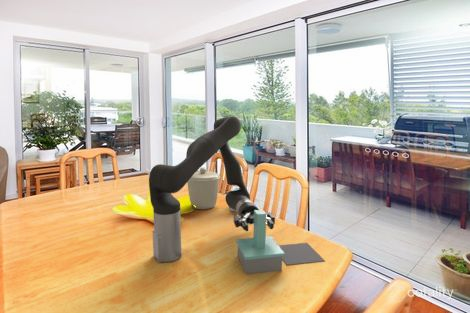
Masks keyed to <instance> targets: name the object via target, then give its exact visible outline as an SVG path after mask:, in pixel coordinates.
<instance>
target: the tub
mask: <svg viewBox="0 0 470 313" xmlns="http://www.w3.org/2000/svg"><path fill="white" fill-rule="evenodd" d="M237 257H238V259H239V261H240V264H241V266H242V268H243V271H244V273H245V275H253V274H262V273H263V274H264V273H271V272H280V271H281V272H282V271H283V260H282V256H280V257H271V258H261V259H251V260H245V259H244V257H243V255H242V253H241V251H240V249H239V247H238V246H237Z"/></svg>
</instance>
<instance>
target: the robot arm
mask: <svg viewBox="0 0 470 313" xmlns="http://www.w3.org/2000/svg"><path fill="white" fill-rule="evenodd" d="M241 128H242V124H241V120H240V119H239V118H238V117H237V116H235V115H227V116H225V117H224V116H223V117H221V118H219V119H216V120H215V121H214V122H213V129H212V130H211V131H208V132H206V133H204V134H203V135H202V134H201V135H200V136H199V137H198V138H196V139H195V140H194V141H192V142H191V143H190V144H189V145H188V146H187V149H186V154H185V155H186V156H185V158H184V159H183V160H182V161H181V162H180V163H178V164H175V165H169V164H161V163H160V164H155V165H154V166H153V167H152V168H151V169H150V172H149V176H148V177H149V178H148V187H149V189H148V190H149V198H150V199H149V200H150V204H151V206H152V208H153V230H152V232H151V233H152V251H153V253H152V254H153V258H155V259H156V261H157V262H158V263H169V262H175V261H177V260H179V259H180V258H181V257H182V226H181V222H182V220H181V203H180V200H179V199H178V198H176V197H174V195H173V194H176V193H179V192H180V191H181V190H182V189H183V188H184V186H185V185H187V184H188V183H187V182H188V181H189V179H190V178H191V177H192V176H193V175H194V173H195V172H197V171H199V170H200V168H202V166H203V165H204V164H206V163H207V162H208V161H209V160H210V159H211V158H212V157H213V156H214V155H215V154H216V153H217V152H220V154H221V158H222V162H223V165H224V170H225V171H224V172H225V176H226V177H225V179H226V182H227V185H229V186H238V187H239V188H240V190H234V191H230V190H229V191H228V192H227V193H226V194H225V202H226V205H227V206H228V207H229V209H230V208H232V209H234V210H236V211H235V212H236V213H237V214H233V224H234V226H235V228H239V227H241V228H242V230H243V231H245V232H249V225H254V210H260V209H259V208H258V207H257V206H256V204H255V203H254V201H252V200H251V196H250V193H249V191H248V188H247V187H246V185H245V181H244V178H243V170H242V166H241V164H240V163H241V162H240V161H239V159H238V158H237V157H236V155H235V153H234V152H233V151H232V149H231V147H230V144H229V141H230V140H232V139H233V138H234V137H236V136H238V135H239V134H240V132H241ZM275 224H276V217H275V216H274V215H273V214H272V213H271V212H269V211H267V212H266V227H268V228H269V229H270V230H273V229H274V226H275Z"/></svg>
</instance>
